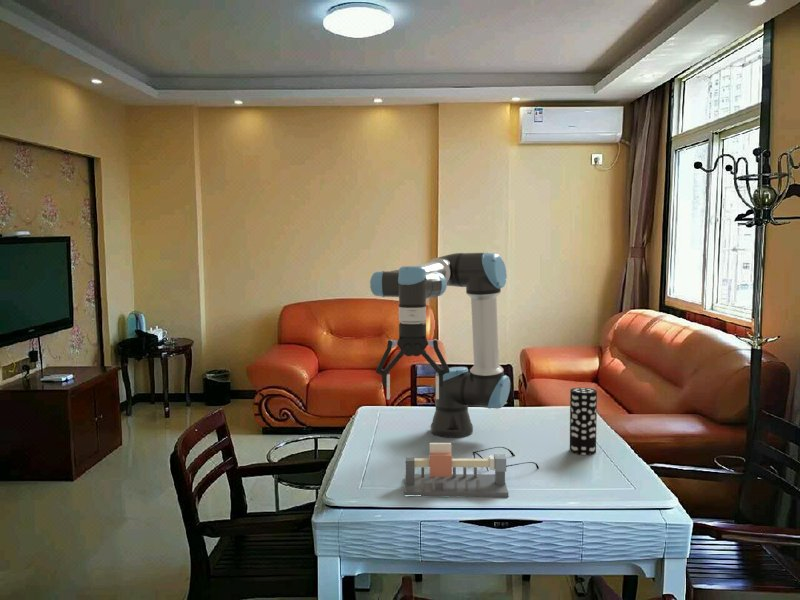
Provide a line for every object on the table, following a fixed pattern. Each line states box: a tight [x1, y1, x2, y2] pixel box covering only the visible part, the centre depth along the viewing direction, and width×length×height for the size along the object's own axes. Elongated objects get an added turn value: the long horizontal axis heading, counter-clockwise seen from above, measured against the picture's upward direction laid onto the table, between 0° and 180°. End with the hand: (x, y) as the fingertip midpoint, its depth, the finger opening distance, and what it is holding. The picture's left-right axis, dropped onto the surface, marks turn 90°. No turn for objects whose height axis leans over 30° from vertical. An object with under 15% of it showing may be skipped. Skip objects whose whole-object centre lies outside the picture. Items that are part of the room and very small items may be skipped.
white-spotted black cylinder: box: [569, 387, 598, 456], centre depth 215 cm, size 8×8×20 cm
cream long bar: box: [414, 453, 507, 473], centre depth 185 cm, size 27×4×4 cm, turn 88°
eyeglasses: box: [472, 446, 540, 472], centre depth 203 cm, size 16×16×4 cm
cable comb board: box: [403, 456, 509, 498], centre depth 185 cm, size 28×14×8 cm, turn 88°
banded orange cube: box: [429, 442, 453, 477], centre depth 185 cm, size 6×6×8 cm
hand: (412, 398), depth 184 cm, fingers open, 13 cm apart
